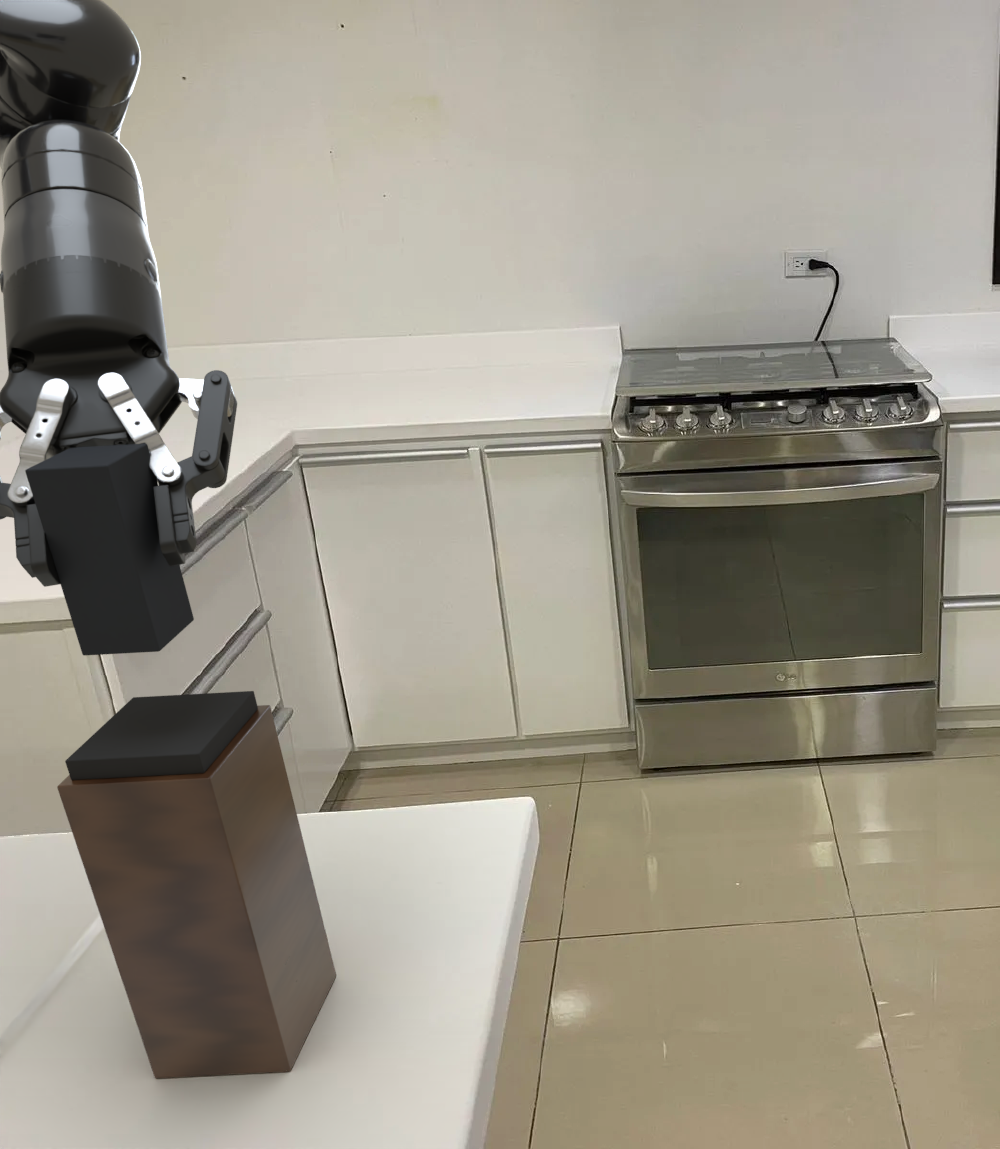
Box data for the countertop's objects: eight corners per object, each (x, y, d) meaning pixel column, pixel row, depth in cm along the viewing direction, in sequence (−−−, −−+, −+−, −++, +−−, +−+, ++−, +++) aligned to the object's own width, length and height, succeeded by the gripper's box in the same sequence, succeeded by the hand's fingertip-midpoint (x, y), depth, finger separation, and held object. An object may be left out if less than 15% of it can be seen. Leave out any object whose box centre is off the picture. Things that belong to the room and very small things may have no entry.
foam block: (82, 656, 58) (23, 469, 54) (122, 623, 61) (70, 447, 57) (159, 652, 58) (106, 465, 54) (195, 619, 61) (147, 442, 57)
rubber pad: (70, 780, 58) (64, 760, 58) (138, 715, 65) (133, 696, 65) (204, 773, 58) (198, 753, 58) (258, 708, 65) (253, 690, 64)
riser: (154, 1078, 65) (55, 786, 58) (214, 982, 73) (134, 711, 65) (290, 1071, 65) (209, 778, 58) (337, 975, 73) (270, 704, 65)
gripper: (238, 324, 68) (276, 574, 62) (-37, 352, 63) (-24, 625, 57) (210, 239, 61) (250, 511, 55) (-99, 263, 56) (-92, 562, 50)
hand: (110, 567), depth 56 cm, fingers closed on foam block, 5 cm apart
